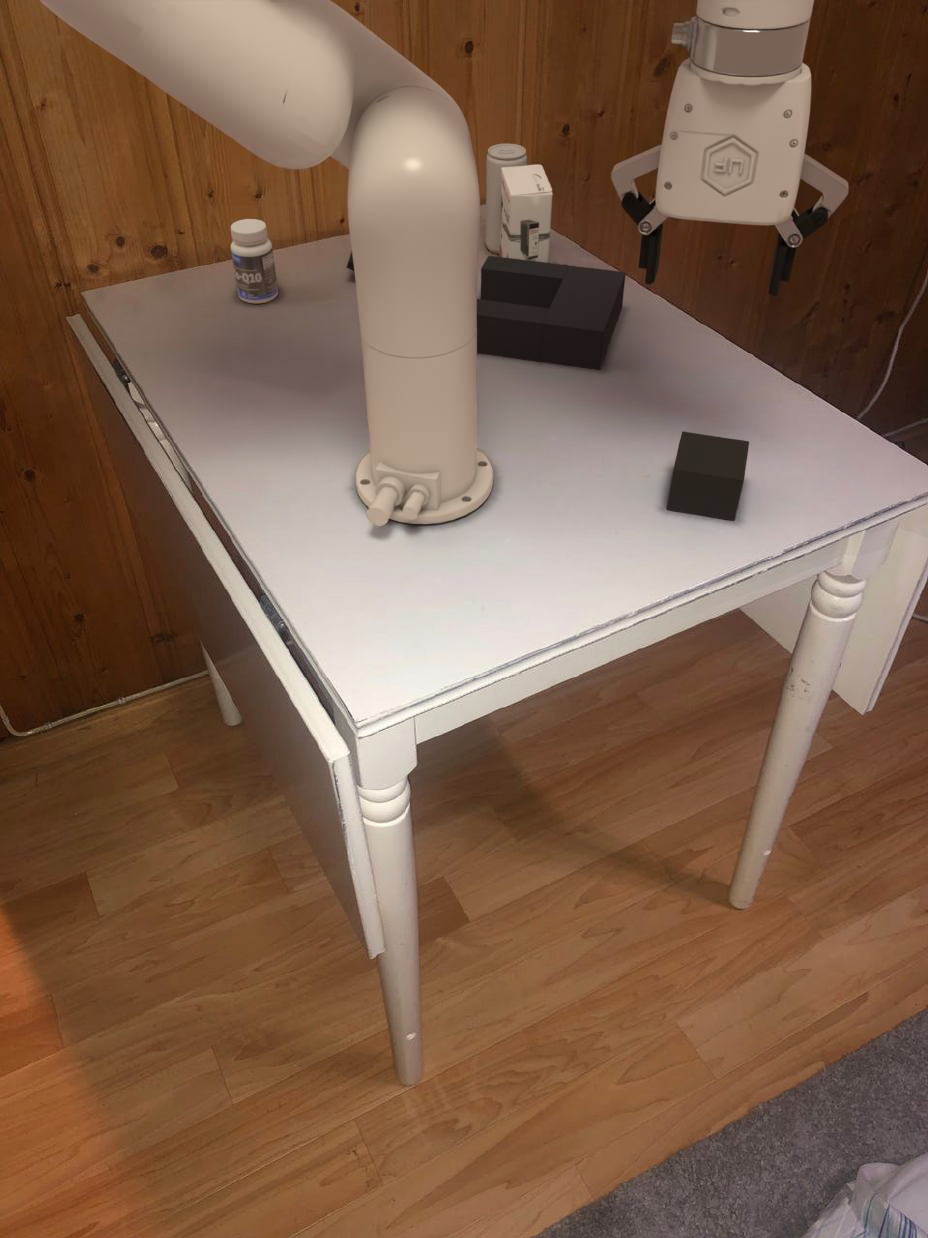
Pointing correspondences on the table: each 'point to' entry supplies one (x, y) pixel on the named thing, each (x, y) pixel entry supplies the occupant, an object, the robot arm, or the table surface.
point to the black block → (708, 475)
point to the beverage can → (498, 187)
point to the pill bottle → (253, 261)
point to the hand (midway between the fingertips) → (711, 282)
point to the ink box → (525, 213)
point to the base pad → (547, 311)
